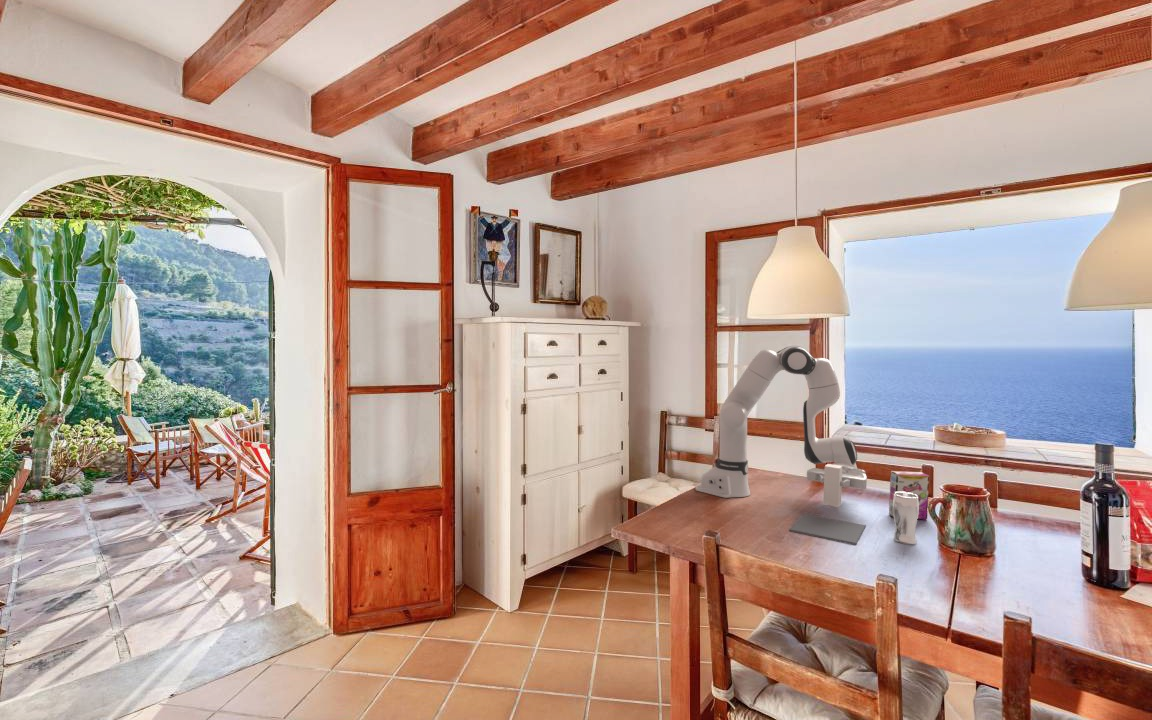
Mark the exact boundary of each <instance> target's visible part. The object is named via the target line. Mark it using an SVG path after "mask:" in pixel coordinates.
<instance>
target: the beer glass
mask: <svg viewBox="0 0 1152 720" xmlns="http://www.w3.org/2000/svg"><path fill="white" fill-rule="evenodd" d="M893 514H894V518H893V519H894V520H893V521H894V525H895V527H894V528H895V530H894V531H895V532H894V535H893V540H894V541H895V542H896V543H900V544H903V545H908V546H909V545H910V546H911V545H912V546H913V545H916V544H917V539H916V527H917V523H918V520H917V519H918V514H919V502H918V496H917V495H916V494H912V493H908V492H895V493H894V499H893Z"/></svg>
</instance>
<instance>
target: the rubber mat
mask: <svg viewBox="0 0 1152 720" xmlns="http://www.w3.org/2000/svg"><path fill="white" fill-rule="evenodd" d="M865 529H866V524H862V523H858V522H851V521H847V520H840V519H835V518H829V517H825V516H818V515H814V514H809V513H802V515H801V516H800V517H798V519H797V520H796V521H795V522H794V524H793V525H792V526H791V527H790V528H788V531H789V532H792V533H793V532H794V533H798V534H802V535H806V534H808V535H807V536H811V535H813V536H812V537H816V536H818V537H817V538H821V537H822V538H821V539H825V538H826V540H830V539H831V540H832V541H835V540H836V541H835V542H840V541H841V542H840V543H844V542H846V544H849V543H850V545H854V544H855V545H854V546H856V545H857V544H858V542H859V540H860V539H861V536H862V535H863V533H862V532H864V531H863V530H865Z"/></svg>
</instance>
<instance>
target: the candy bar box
mask: <svg viewBox="0 0 1152 720" xmlns="http://www.w3.org/2000/svg"><path fill="white" fill-rule="evenodd" d="M889 479H890V483H889V501H888V502H889V504H888V505H889V507H888V515H889V516H891V517H892V518H893V519H894V514H893V499H894V493H895V492H908V493H912V494H916V495H917V496H918V502H919V514H918V519H923V520H924V521H927V520H928V511H927V508H928V509H929V506H928V505H929V486H930V485H929V484H930V475H929V474H927V473H924V472H922V471H896V470H895V471H894V470H891V471H890V478H889ZM926 519H927V520H926ZM923 520H922V521H923Z"/></svg>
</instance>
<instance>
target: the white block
mask: <svg viewBox="0 0 1152 720" xmlns="http://www.w3.org/2000/svg"><path fill="white" fill-rule="evenodd" d="M833 464H834V463H827V464H826V465H825V466H824V468H823V469H824V483H823V502H822V504H823V505H824V506H831V507H835V508H839V507H840V506H841V505H842V490H843V487H842V486H840V481H842V466H840V465H833Z"/></svg>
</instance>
